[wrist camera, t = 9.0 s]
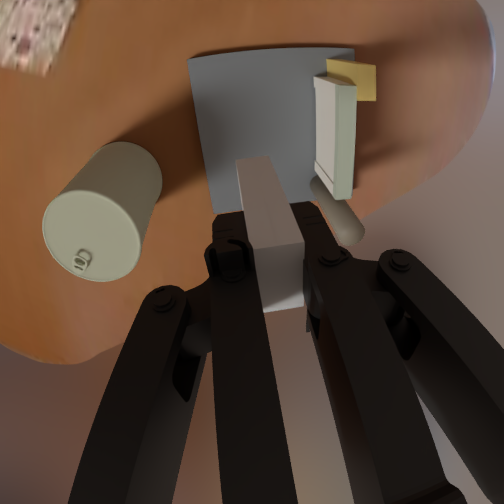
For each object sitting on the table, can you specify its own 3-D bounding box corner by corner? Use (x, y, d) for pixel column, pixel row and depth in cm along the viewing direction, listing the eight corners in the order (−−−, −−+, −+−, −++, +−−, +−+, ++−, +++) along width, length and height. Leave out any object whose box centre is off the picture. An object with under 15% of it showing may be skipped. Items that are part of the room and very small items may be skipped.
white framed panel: (327, 169, 32) (351, 198, 26) (314, 170, 32) (335, 200, 26) (328, 76, 25) (356, 86, 20) (313, 76, 25) (338, 85, 20)
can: (76, 195, 32) (32, 259, 22) (103, 127, 27) (52, 172, 18) (142, 227, 35) (120, 300, 26) (177, 164, 31) (159, 225, 22)
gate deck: (188, 59, 25) (171, 63, 16) (349, 48, 25) (407, 55, 16) (214, 208, 35) (214, 272, 26) (348, 191, 35) (388, 246, 27)
